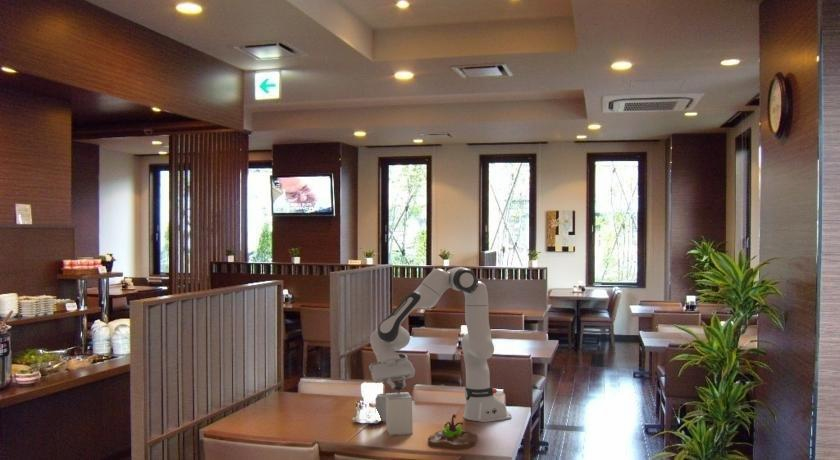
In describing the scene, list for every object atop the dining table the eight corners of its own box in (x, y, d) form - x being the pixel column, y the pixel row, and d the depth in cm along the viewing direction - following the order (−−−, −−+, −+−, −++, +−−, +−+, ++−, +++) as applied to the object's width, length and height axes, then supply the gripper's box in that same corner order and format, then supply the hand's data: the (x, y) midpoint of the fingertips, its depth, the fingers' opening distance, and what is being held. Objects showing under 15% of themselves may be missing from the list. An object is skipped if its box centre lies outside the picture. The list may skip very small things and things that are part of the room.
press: (408, 427, 306) (407, 392, 306) (412, 434, 296) (412, 397, 296) (386, 429, 304) (385, 393, 304) (389, 435, 294) (389, 398, 294)
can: (389, 422, 314) (389, 396, 315) (374, 422, 316) (373, 396, 316) (393, 418, 322) (393, 393, 322) (378, 417, 323) (377, 392, 323)
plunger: (406, 426, 305) (405, 379, 305) (409, 431, 297) (409, 383, 297) (388, 428, 303) (388, 380, 303) (391, 433, 295) (390, 384, 295)
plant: (483, 438, 290) (483, 411, 290) (468, 452, 272) (467, 423, 272) (439, 433, 298) (439, 407, 298) (422, 446, 280) (421, 419, 280)
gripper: (369, 359, 301) (380, 385, 292) (409, 354, 311) (421, 379, 303) (365, 368, 305) (375, 394, 296) (405, 362, 315) (416, 388, 307)
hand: (399, 387), depth 300 cm, fingers closed on plunger, 4 cm apart
